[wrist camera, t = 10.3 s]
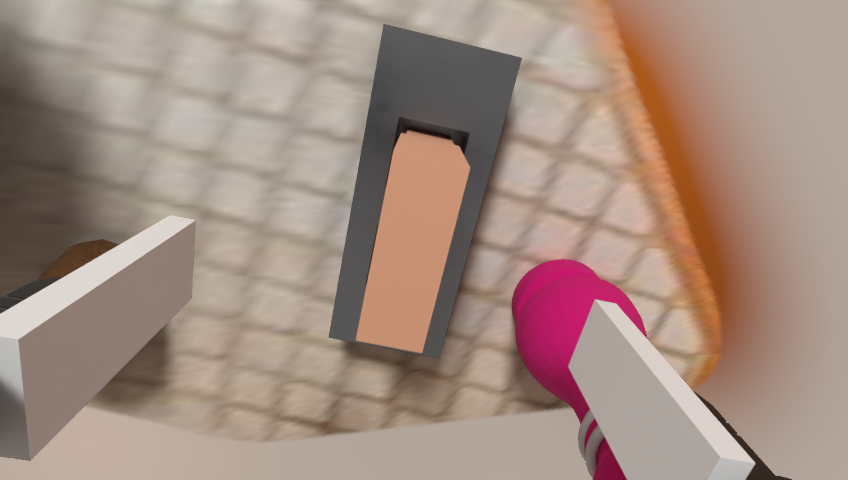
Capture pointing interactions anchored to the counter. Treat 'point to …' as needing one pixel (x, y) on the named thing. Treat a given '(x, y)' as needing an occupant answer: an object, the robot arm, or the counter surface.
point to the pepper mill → (566, 342)
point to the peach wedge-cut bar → (412, 239)
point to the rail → (434, 111)
